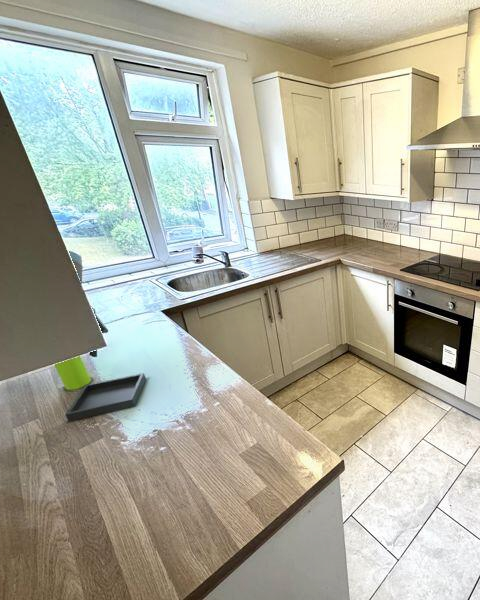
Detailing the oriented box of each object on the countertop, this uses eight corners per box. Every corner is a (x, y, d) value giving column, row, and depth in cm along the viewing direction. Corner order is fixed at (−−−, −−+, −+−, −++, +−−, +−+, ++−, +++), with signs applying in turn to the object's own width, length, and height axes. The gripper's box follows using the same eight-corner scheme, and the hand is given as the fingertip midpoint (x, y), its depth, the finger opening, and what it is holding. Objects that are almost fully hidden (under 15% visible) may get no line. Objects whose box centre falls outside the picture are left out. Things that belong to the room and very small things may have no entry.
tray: (68, 421, 88) (64, 414, 87) (88, 391, 99) (85, 384, 98) (134, 406, 93) (132, 399, 92) (146, 379, 104) (143, 372, 103)
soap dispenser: (71, 393, 98) (42, 335, 90) (62, 385, 101) (34, 328, 93) (95, 383, 102) (70, 326, 94) (87, 375, 106) (61, 321, 98)
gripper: (1, 297, 95) (-5, 369, 88) (109, 285, 104) (110, 348, 98) (20, 307, 101) (15, 374, 95) (119, 294, 111) (121, 354, 104)
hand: (63, 361), depth 96 cm, fingers open, 13 cm apart
